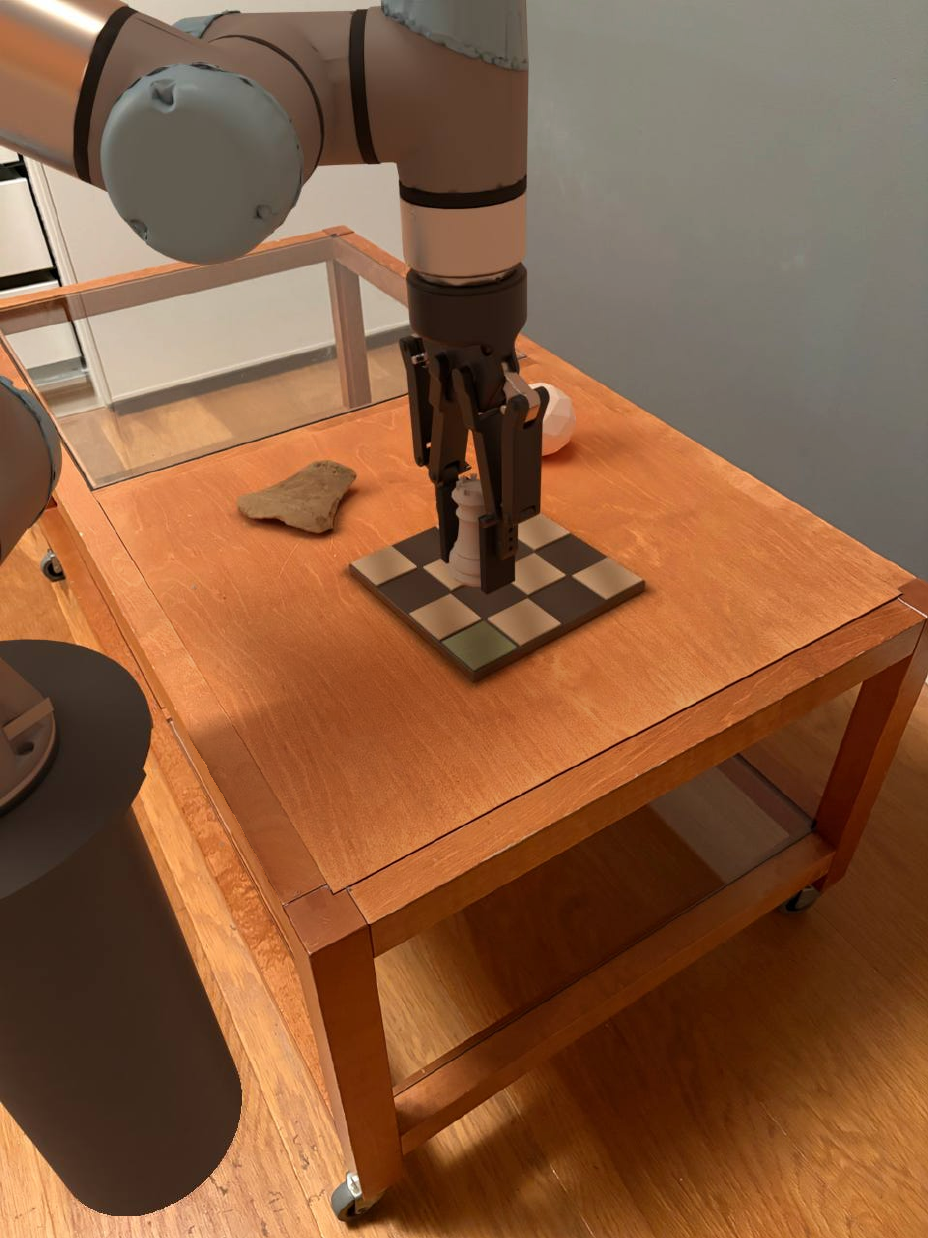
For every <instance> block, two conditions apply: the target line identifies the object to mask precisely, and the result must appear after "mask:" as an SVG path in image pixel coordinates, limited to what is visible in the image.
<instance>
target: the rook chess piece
mask: <svg viewBox="0 0 928 1238" xmlns="http://www.w3.org/2000/svg"><path fill="white" fill-rule="evenodd" d="M466 477H467V476H466V475H462V476H460V477H459V481H456V488H455V489H454V491H453V492H452V498H453V499H454V500H455V502H456V503H457V504H458V505H459V507H458V508H457V510H456V515H457V516H458V517H459V533H458V539H457V541H456V542H455V544H454V547H453V549H452V550H451V552H450V557H449V562H450V564H449V572H450V573H451V575H452V576H453V578H455V579H456V580H457V581H458V582H460V583H462V584H463V585H467V586H472V587H481V576H480V548H479V521H478V517H480V516H483V515H485V514H486V510H485V505H484V499H483V493H482V488H481V482H480V478H478V473H469V480H466Z"/></svg>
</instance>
